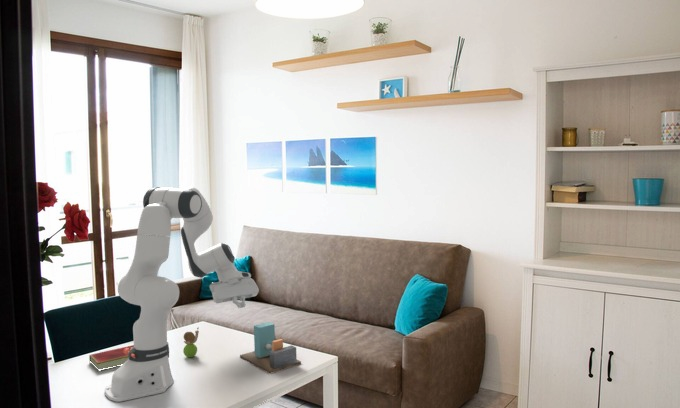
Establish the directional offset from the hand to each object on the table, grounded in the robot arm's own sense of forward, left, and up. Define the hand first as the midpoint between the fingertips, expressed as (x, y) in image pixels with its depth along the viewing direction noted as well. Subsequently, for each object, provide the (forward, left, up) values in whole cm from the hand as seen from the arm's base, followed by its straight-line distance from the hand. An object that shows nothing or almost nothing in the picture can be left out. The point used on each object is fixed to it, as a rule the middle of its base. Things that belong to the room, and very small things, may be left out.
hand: (242, 307), depth 222 cm
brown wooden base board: (0, -20, -17) cm, 27 cm away
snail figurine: (-21, +5, -18) cm, 28 cm away
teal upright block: (0, -18, -16) cm, 24 cm away
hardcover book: (-43, +20, -18) cm, 51 cm away
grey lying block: (0, -30, -17) cm, 34 cm away
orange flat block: (+3, -26, -16) cm, 31 cm away
